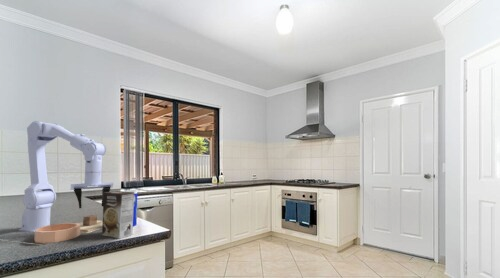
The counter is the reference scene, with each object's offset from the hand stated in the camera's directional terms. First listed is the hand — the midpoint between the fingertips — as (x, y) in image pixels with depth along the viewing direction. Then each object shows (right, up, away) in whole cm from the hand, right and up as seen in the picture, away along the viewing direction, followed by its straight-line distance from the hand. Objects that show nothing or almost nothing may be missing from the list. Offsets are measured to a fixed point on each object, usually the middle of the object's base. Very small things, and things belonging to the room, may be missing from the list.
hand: (91, 206), depth 104 cm
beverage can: (+12, -10, +7) cm, 17 cm away
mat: (-4, -10, +5) cm, 12 cm away
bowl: (-6, -9, -9) cm, 15 cm away
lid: (-4, -10, +5) cm, 12 cm away
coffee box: (+13, -9, -6) cm, 17 cm away
